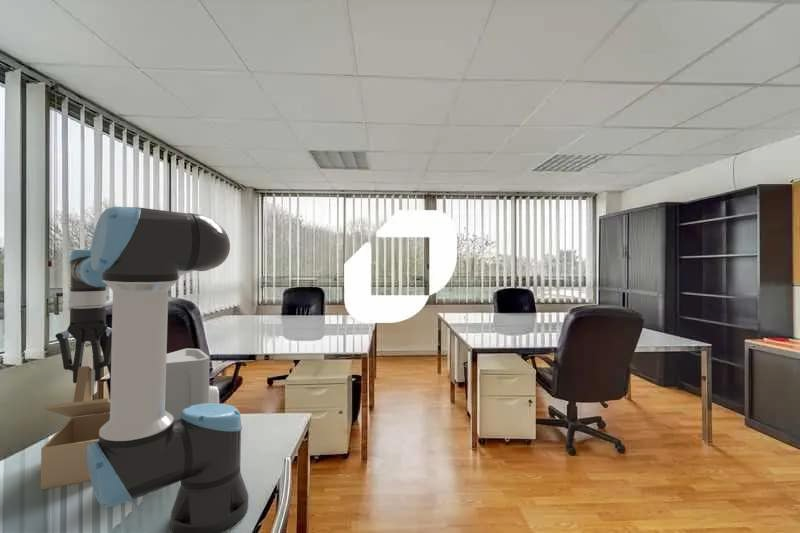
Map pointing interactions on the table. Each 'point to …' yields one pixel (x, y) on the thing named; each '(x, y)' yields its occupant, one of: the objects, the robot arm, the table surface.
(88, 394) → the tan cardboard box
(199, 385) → the grey tapered bin
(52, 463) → the tan rectangular open box
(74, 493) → the table surface
